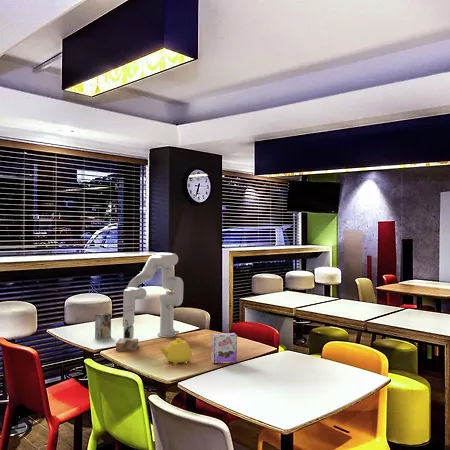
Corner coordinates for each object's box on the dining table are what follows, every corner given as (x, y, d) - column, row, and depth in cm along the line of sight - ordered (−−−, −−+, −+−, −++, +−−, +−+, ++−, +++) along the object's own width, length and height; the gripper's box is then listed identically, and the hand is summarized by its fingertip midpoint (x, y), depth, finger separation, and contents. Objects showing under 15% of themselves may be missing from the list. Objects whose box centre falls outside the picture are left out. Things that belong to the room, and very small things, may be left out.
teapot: (163, 368, 251) (164, 344, 251) (153, 361, 264) (153, 337, 265) (196, 364, 261) (196, 340, 261) (184, 357, 275) (184, 334, 275)
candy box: (213, 364, 261) (214, 335, 261) (211, 361, 267) (211, 333, 267) (236, 363, 265) (237, 334, 265) (233, 360, 270) (234, 332, 270)
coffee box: (105, 335, 323) (105, 312, 323) (111, 336, 319) (111, 314, 319) (94, 337, 316) (95, 314, 316) (100, 339, 312) (100, 315, 312)
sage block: (133, 337, 294) (133, 326, 294) (131, 339, 289) (131, 328, 289) (126, 337, 295) (126, 326, 295) (123, 338, 290) (123, 327, 290)
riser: (138, 346, 298) (138, 338, 298) (135, 351, 286) (135, 343, 286) (119, 346, 297) (119, 338, 297) (115, 351, 285) (116, 343, 285)
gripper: (127, 305, 301) (127, 333, 301) (119, 310, 284) (118, 339, 284) (138, 306, 300) (138, 333, 300) (130, 311, 283) (130, 340, 283)
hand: (128, 336), depth 292 cm, fingers closed on sage block, 5 cm apart
